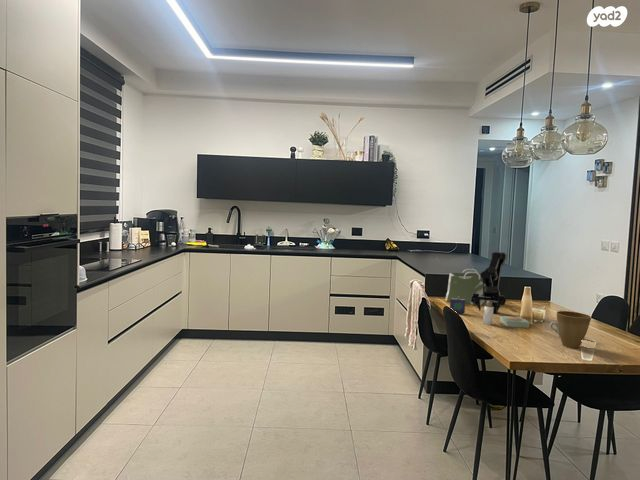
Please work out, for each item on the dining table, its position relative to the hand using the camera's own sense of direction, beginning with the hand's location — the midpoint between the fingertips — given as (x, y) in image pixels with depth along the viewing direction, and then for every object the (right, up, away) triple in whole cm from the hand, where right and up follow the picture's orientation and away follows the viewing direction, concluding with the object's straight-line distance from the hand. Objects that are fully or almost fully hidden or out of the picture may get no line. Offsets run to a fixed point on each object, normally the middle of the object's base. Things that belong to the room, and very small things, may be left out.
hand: (488, 311), depth 260 cm
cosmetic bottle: (0, -7, +1) cm, 7 cm away
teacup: (+33, -11, -19) cm, 39 cm away
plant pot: (+28, -12, -34) cm, 46 cm away
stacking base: (+16, -8, +3) cm, 18 cm away
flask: (-11, -5, +24) cm, 27 cm away
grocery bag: (+8, -3, +58) cm, 59 cm away
